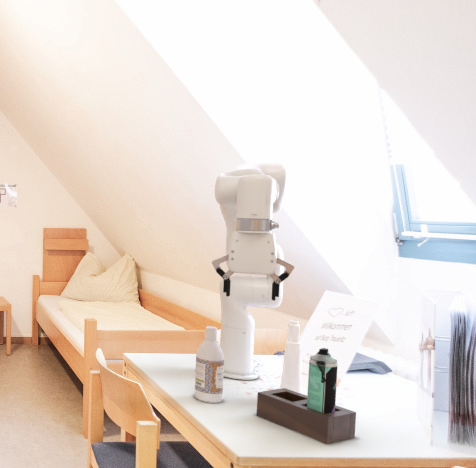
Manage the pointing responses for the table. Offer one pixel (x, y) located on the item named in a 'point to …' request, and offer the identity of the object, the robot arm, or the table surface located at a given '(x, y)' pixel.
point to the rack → (305, 416)
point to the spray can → (322, 382)
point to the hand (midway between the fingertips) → (250, 297)
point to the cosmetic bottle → (292, 360)
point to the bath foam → (209, 368)
